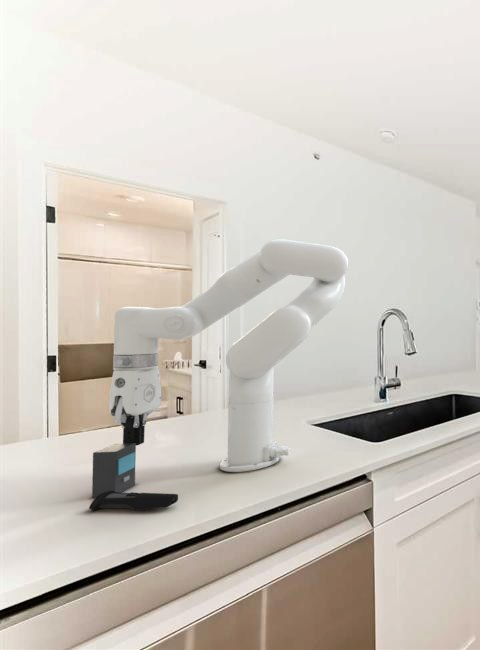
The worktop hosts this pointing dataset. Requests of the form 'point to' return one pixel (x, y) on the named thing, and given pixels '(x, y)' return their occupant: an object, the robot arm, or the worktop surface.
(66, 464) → the worktop surface
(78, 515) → the worktop surface
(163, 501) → the electric trimmer
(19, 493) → the worktop surface
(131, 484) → the dark grey box
